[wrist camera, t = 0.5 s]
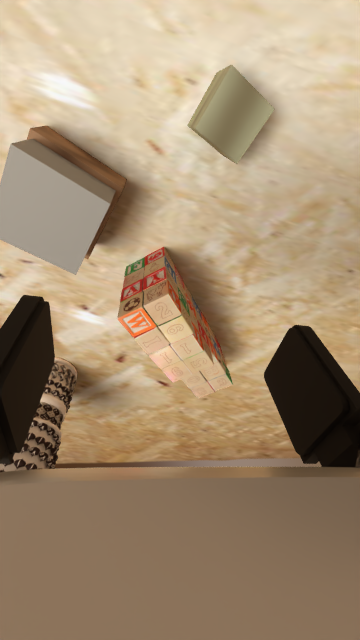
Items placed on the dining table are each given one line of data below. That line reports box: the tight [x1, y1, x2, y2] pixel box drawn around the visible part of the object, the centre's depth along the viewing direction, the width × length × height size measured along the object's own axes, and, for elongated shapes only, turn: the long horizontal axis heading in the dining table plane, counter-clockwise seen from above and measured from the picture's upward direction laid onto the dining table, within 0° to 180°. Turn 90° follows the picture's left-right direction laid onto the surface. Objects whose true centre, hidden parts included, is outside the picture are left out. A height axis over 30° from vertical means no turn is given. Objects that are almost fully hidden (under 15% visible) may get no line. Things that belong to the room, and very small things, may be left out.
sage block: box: [187, 65, 274, 164], centre depth 26 cm, size 5×5×6 cm
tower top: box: [0, 139, 116, 275], centre depth 26 cm, size 8×8×5 cm
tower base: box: [27, 126, 127, 259], centre depth 30 cm, size 9×9×5 cm
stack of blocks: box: [118, 247, 233, 398], centre depth 39 cm, size 21×6×12 cm, turn 27°
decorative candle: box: [0, 357, 77, 472], centre depth 39 cm, size 9×9×25 cm
